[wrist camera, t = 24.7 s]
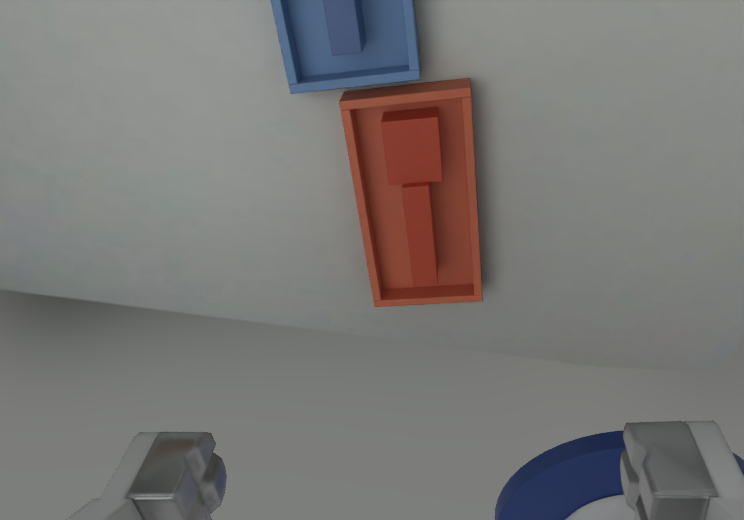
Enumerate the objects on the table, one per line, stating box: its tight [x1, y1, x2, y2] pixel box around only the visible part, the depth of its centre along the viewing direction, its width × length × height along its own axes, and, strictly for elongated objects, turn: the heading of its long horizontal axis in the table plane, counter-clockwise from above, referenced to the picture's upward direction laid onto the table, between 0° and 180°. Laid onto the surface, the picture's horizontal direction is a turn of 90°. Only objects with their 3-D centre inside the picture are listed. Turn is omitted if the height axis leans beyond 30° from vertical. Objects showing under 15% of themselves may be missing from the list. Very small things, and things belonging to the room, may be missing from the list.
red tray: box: [339, 78, 483, 307], centre depth 43 cm, size 16×8×2 cm, turn 8°
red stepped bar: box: [381, 107, 443, 287], centre depth 42 cm, size 12×4×2 cm, turn 8°
